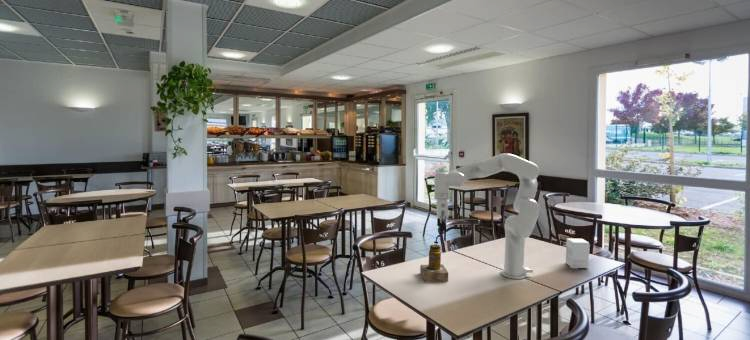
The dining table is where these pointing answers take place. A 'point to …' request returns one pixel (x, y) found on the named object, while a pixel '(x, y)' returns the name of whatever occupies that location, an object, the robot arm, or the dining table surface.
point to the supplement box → (577, 253)
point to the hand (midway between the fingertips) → (441, 228)
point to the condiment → (434, 259)
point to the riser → (434, 274)
